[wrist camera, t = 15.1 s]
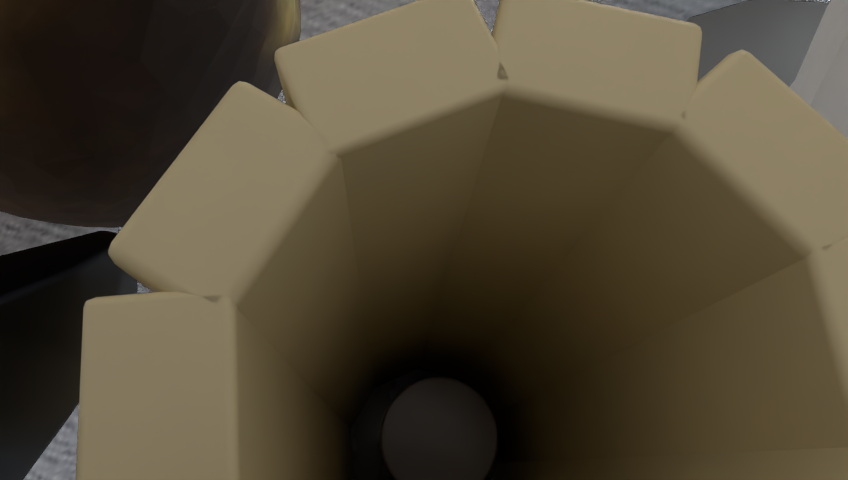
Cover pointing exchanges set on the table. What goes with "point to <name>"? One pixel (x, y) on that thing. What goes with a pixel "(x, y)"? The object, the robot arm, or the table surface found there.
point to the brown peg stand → (425, 431)
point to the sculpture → (119, 94)
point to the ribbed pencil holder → (487, 258)
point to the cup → (787, 47)
